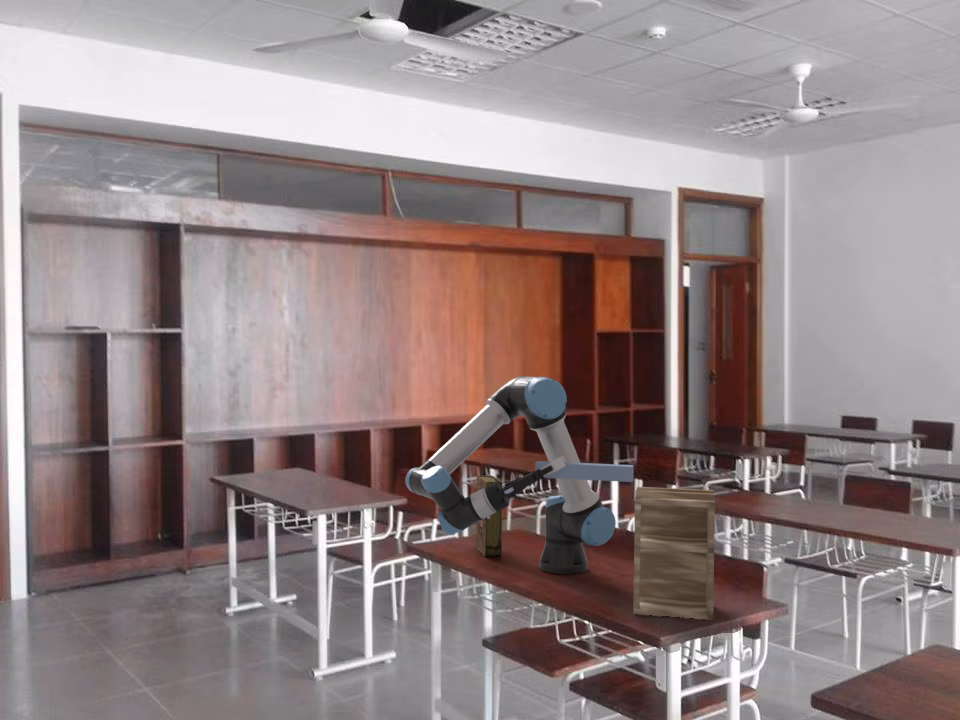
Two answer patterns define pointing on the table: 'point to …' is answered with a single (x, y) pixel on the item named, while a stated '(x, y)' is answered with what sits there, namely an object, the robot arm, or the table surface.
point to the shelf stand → (674, 552)
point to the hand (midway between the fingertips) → (564, 460)
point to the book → (489, 524)
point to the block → (591, 471)
